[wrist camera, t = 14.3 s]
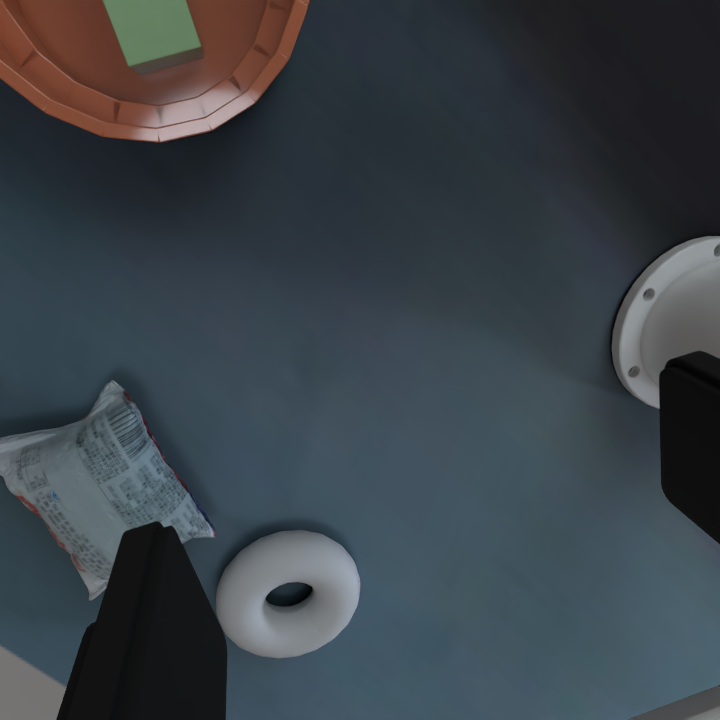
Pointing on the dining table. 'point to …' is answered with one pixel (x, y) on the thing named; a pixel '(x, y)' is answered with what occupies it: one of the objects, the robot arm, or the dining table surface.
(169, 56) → the bar
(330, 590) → the donut
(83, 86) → the bowl
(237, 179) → the dining table surface
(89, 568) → the packaged food
